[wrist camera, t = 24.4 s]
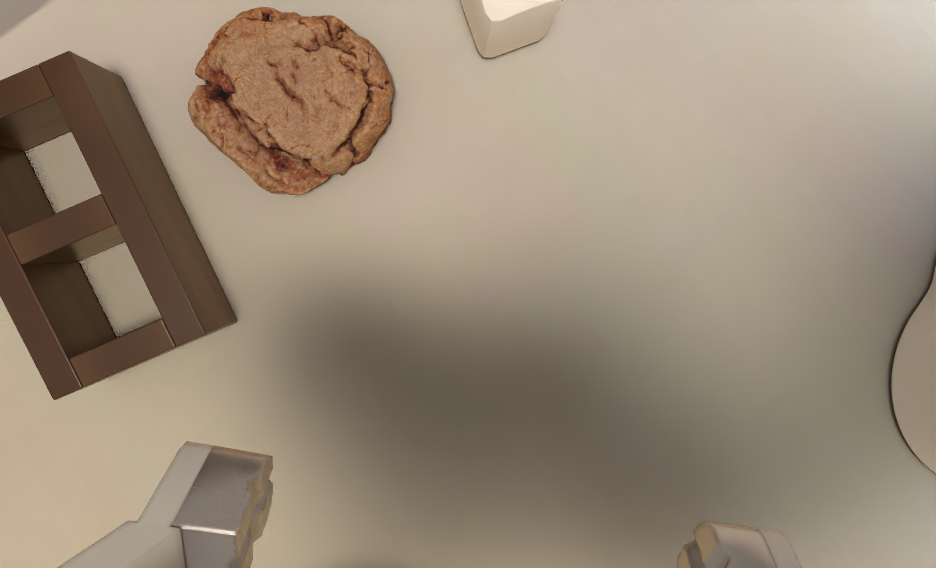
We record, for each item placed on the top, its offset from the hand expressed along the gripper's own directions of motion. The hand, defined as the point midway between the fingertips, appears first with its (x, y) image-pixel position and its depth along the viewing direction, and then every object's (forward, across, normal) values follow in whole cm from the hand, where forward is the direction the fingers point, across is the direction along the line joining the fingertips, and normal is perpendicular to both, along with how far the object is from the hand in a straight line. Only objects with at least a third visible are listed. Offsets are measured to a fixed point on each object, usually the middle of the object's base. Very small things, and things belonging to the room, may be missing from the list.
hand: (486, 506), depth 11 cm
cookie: (+26, +11, +2) cm, 28 cm away
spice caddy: (+21, +20, +10) cm, 30 cm away
